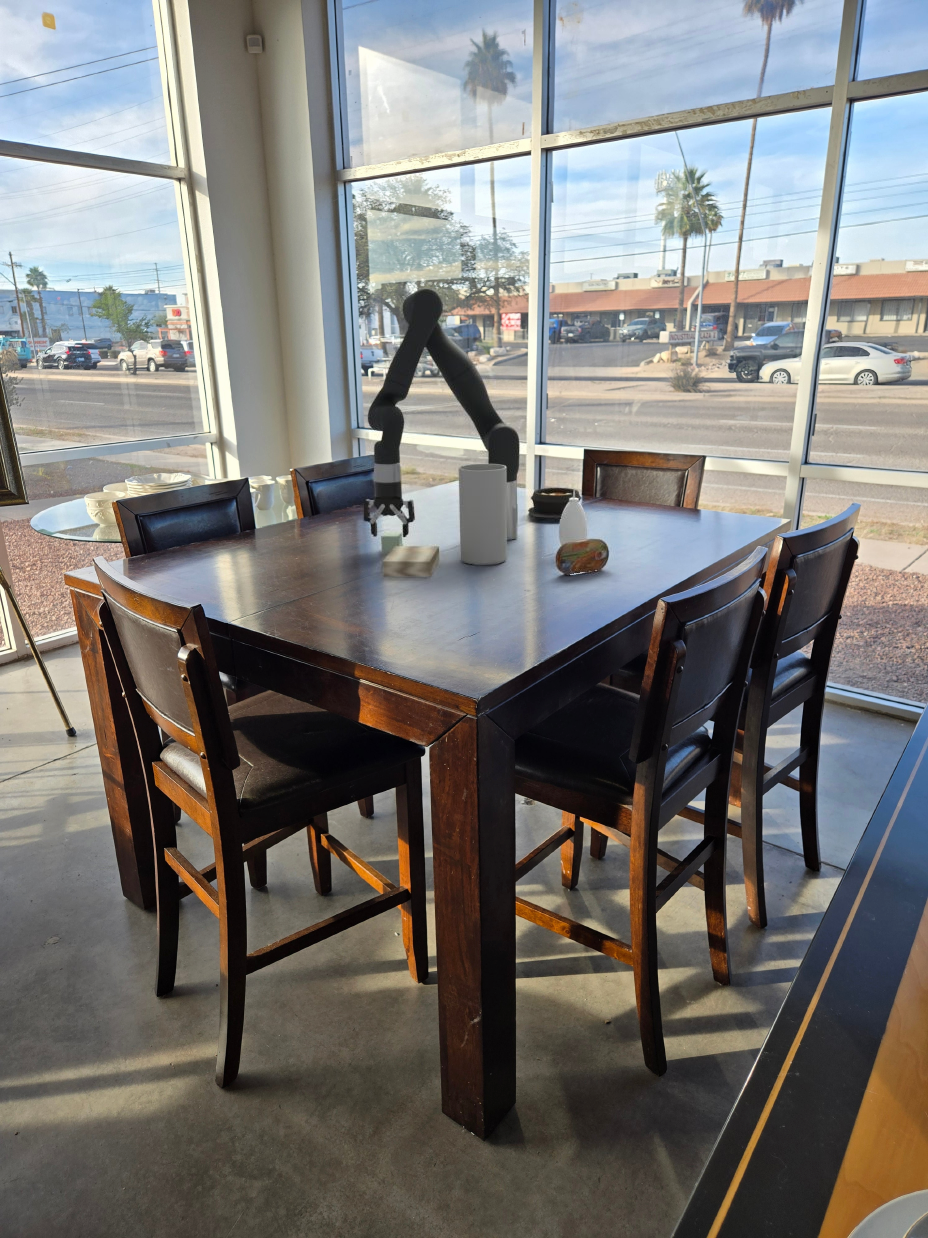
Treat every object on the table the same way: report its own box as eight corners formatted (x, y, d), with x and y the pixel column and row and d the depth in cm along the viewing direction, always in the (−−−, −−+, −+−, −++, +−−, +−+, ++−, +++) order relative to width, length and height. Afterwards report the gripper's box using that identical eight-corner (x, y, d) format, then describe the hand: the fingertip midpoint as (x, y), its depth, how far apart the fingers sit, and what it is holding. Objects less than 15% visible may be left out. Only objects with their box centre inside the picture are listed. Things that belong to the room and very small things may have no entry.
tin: (560, 578, 198) (560, 545, 195) (553, 575, 200) (553, 542, 198) (609, 569, 204) (610, 537, 201) (601, 566, 207) (603, 535, 204)
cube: (402, 549, 229) (401, 532, 228) (399, 553, 224) (398, 536, 223) (385, 549, 230) (384, 532, 228) (382, 553, 225) (381, 536, 223)
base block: (439, 560, 216) (438, 546, 215) (430, 576, 201) (429, 561, 200) (395, 560, 217) (395, 545, 216) (383, 576, 202) (382, 561, 201)
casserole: (568, 525, 254) (568, 499, 251) (515, 520, 262) (515, 495, 260) (594, 511, 275) (595, 486, 272) (544, 507, 283) (544, 483, 281)
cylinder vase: (483, 552, 224) (482, 462, 216) (516, 559, 215) (516, 466, 207) (451, 560, 216) (448, 467, 207) (484, 568, 207) (482, 472, 199)
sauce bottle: (586, 557, 216) (588, 491, 210) (557, 556, 217) (558, 490, 212) (587, 550, 223) (589, 486, 217) (559, 549, 225) (560, 485, 219)
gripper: (415, 477, 223) (417, 534, 229) (366, 476, 225) (368, 532, 230) (410, 481, 216) (412, 540, 222) (359, 480, 218) (362, 538, 223)
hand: (389, 536), depth 226 cm, fingers open, 8 cm apart
